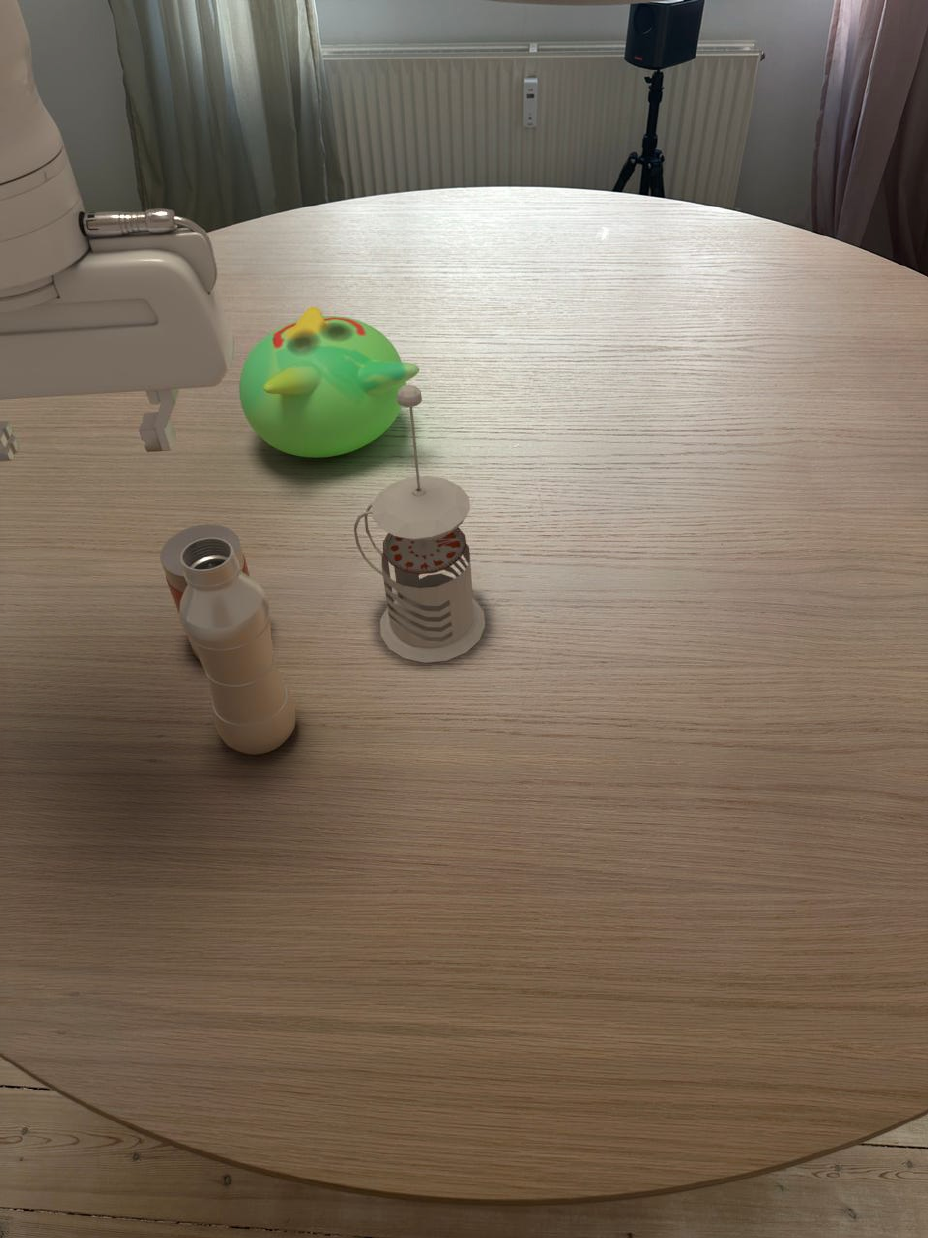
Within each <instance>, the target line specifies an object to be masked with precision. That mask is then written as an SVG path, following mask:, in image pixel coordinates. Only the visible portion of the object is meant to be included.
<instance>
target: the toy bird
mask: <svg viewBox="0 0 928 1238" xmlns="http://www.w3.org/2000/svg"><path fill="white" fill-rule="evenodd" d="M419 372H420V367H419V366H418V365H417V364H415V363H411V362H405V361H403V360H402V358H401V356H400V354H399V352H398V351H397V349H396V347H395V346H394V344H393V343H392V341H390V340H389V339H388V337H387V336H386V335H385V334H384V333H382V332H381V331H379V330H378V329H376V328H375V327H373V326H372V325H369V324H368V323H366V322H364V321H361V320H358V319H356V318H355V319H354V318H351V317H346V316H339V315H323V314H322V311H321V310H320V308H319V307H317V306H310V307H308V308H307V309H306V310H305V311H304V312H303V313H302V315H301V316H300V317H299V319H297V320H295V321H292V322H289V323H287V324H285V325H283V326H280V327H279V328H277V329H275V330H273V331H272V332H270V333H269V334H268V335H266V336H265V337H264V338H262V339H261V340H259V342H258V343H257V344H256V345H255V346H254V347H253V349H252V350H251V351H250V352H249V354H248V356H247V357H246V359H245V361H244V364H243V366H242V368H241V373H240V376H239V385H238V392H239V393H238V394H239V400H240V405H241V409H242V411H243V415H244V416H245V418H246V421H247V422H248V424H249V425H250V428H252V429H253V431H254V433H256V435H257V436H259V438H260V439H262V440H263V441H264V442H266V443H267V444H268V445H269V446H271V447H273V448H274V449H276V450H279V451H281V452H283V453H286V454H288V455H292V456H297V457H302V458H315V459H317V458H331V457H336V456H342V455H344V454H348V453H351V452H354V451H356V450H360V449H361V448H363V447H365V446H366V445H369V444H370V443H372V442H374V441H375V440H377V439H378V438H379V437H380V436H382V435H383V434H384V433H386V431H388V430H389V428H390V427H391V426H392V425H393V424H394V422H395V420H397V418H398V416H399V414H400V412H401V411H402V407H403V406H401V405H399V404H398V402H397V393H398V390H399V389H400V388H401V387H403V386H405V385H407V382H408V381H410V380H411V379H413V378H414V377H416V376H417V375H418V374H419Z"/></svg>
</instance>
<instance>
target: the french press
mask: <svg viewBox="0 0 928 1238" xmlns="http://www.w3.org/2000/svg"><path fill="white" fill-rule="evenodd" d="M422 401H423V397H422V391H421V389H420V388H418V387H417V386H416V385H413V384H406V385H405V386H403V387H401V388H400V389H399V390H398V393H397V402H398V404H399V405H401V406H402V407H404V408H408V409H409V417H410V426H411V436H412V437H411V438H412V447H413V456H414V468H415V477H408V478H403V479H401V480H397V481H395V482H392V483H390V484H389V485H387V486H386V487H384V489H382V490H381V491H379V492H378V493H377V495H376V497H375V499H374V501H372V502H371V503H370V504H369V505H368V506H367V508H366V510H365V511H363V512H362V513H361V514H360V515H358V516H357V518H356V519H355V522H354V525H353V535H354V539H355V544H356V546H357V548H358V550H359V553H360V555H361V557H362V558H363V560H364V561H365V562H366V563H367V564H368V565H369V566H370V568H371V569H372V570H374V571H375V572H377V573H378V574H379V575H380V576H382V580H383V585H384V592H385V593H384V594H385V599H386V608H385V610H384V612H383V614H382V616H381V618H380V620H379V635H380V637H381V639H382V640H383V642H384V644H385V645H386V647H387V648H388V650H390V651H392V652H393V653H395V654H396V655H398V656H400V657H401V658H403V659H404V660H409V661H414V662H419V663H424V664H426V663H436V662H439V663H440V662H448V661H450V660H452V659H454V658H457V657H460V656H462V655H464V654H466V653H467V652H468V651H470V650H471V649H472V648H473V647H474V646H475V645H476V644H478V643H479V641H480V640H481V638H482V635H483V633H484V630H485V628H486V619H485V612H484V610H483V608H482V607H481V605H480V604H479V603H478V602H477V600H476V599H475V598H474V597H473V580H472V565H471V564H472V563H471V553H470V546H469V545H468V544H467V540H466V539H467V538H466V535H465V533H464V531H462V530H461V528H460V527H461V525H463V523H464V521H465V520H466V518H467V516H468V514H469V512H470V510H471V506H470V505H471V504H470V496H468V494H467V493H466V492H465V490H464V489H463V488H462V487H461V486H460V485H458V484H456V483H455V482H453V481H450V480H448V479H446V478H442V477H441V478H440V477H435V476H434V477H433V476H427V475H425V476H423V475H422V476H420V472H419V462H418V452H417V451H418V450H417V442H416V433H415V432H416V431H415V422H414V413H413V412H414V411H413V408H414V407H418V405H420V404H421V403H422ZM369 515H371V518H372V519H373V520H374V523H376V525H377V526H378V528H379V529H381V530H383V531H384V532H386V533H387V534H386V536H385V538H384V539H383V541H382V551H381V549H379V547H377V545H376V543H375V541H374V539H373V537H372V535H371V532H370V530H369V521H368V516H369ZM363 517H364V526H365V533H366V534H367V536H368V539H369V540H370V542H371V544H372V546H373V548H374V550H376V552H377V553H378V554H379V555H380V557H381V558H380V559H381V562H380V563H381V565H380V566H381V570H380V569H379V568H378V567H377V566H375V564H373V563H372V562H371V560H369V558H368V557H367V556H366V555H365V553H364V551H363V550H362V546H361V544H360V540H359V536H358V531H357V530H358V525H359V523H360V521H361V519H362V518H363ZM462 556H463V558H464V559H463V558H462ZM458 561H459V562H460V563H461V564H462V566H463V567H464V568H462V566H461V565H460V564H459V563H458ZM465 561H466V562H465ZM466 563H467V564H466ZM390 565H391V566H393V568H394V575H395V580H394V579H392V578H391V572H390ZM452 566H454V567H455V568H456V569H457V570H458V571H459V572H460V574H459V573H458V572H457V571H456V569H455V568H453V567H452ZM441 571H446V572H449V573H451V574H453V575H454V576H455V577H452V576H450V575H447V574H444V573H438V572H441ZM420 575H425V576H423V577H421V578H420ZM393 590H394V591H396V592H397V595H396V594H395V593H394V592H393Z"/></svg>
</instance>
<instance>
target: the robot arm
mask: <svg viewBox="0 0 928 1238" xmlns="http://www.w3.org/2000/svg"><path fill="white" fill-rule="evenodd" d="M29 36H30V35H29V32H28V29H27V25H26V22H25V20H24V16H23V12H22V10H21V7H20V4H19V2H18V0H0V401H7V400H22V399H23V400H24V399H37V398H39V399H40V398H52V397H53V398H54V397H69V396H70V397H71V396H83V395H84V396H85V395H87V396H88V395H101V394H102V395H103V394H118V393H120V394H121V393H133V392H134V393H135V392H145V393H146V396H147V399H148V402H149V404H150V405H159V404H160V405H159V408H158V411H152V412H144V415H143V417H142V421H143V422H141V424H140V426H139V429H138V432H139V434H140V437H141V440H142V441H143V442H144V448H145V451H146V453H157V452H172V451H174V448H175V444H176V441H177V432H176V429H175V425H174V423H173V418H172V412H173V410H174V407H175V404H176V401H177V398H178V394H179V391H180V390H183V389H199V388H212V387H216V386H218V385H220V384H221V382H222V381H223V379H224V378H225V376H227V373H228V371H229V370H230V367H231V365H232V363H233V358H234V351H235V339H234V335H233V331H232V328H231V324H230V321H229V317H228V315H227V312H226V309H225V306H224V304H223V301H222V297H221V296H220V293H219V291H218V288H217V286H216V284H217V282H218V276H219V273H218V272H219V271H218V270H219V269H218V265H217V261H216V257H215V253H214V248H213V245H212V242H211V239H210V237H209V235H208V234H207V232H206V231H205V229H203V228H202V227H201V226H200V225H198V224H197V223H196V222H194V221H193V220H191V219H189V218H186V217H183V216H178V215H176V213H175V211H174V210H173V209H168V208H149V209H146V210H145V211H117V210H116V211H113V210H112V211H96V212H95V211H94V212H93V211H92V212H87V210H86V207H85V204H84V201H83V198H82V195H81V192H80V189H79V187H78V184H77V181H76V177H75V175H74V171H73V168H72V165H71V161H70V159H69V156H68V153H67V149H66V147H65V143H64V141H63V140H64V139H63V137H62V134H61V132H60V129H59V127H58V126H57V124H56V122H55V121H54V119H53V117H52V115H51V114H50V113H49V111H48V110H47V108H46V106H45V105H44V103H43V100H42V98H41V96H40V94H39V91H38V87H37V85H36V81H35V76H34V70H33V69H34V68H33V61H32V60H33V58H32V44H31V39H30V37H29ZM178 226H180V227H181V228H178ZM13 432H14V429H13V427H12V424H11V423H10V421H0V462H10V461H14V460H15V458H16V456H15V455H16V454H17V453H18V451H19V445H20V444H19V441H18V438H17V436H15V435H14V434H13Z"/></svg>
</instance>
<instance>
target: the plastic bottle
mask: <svg viewBox="0 0 928 1238" xmlns="http://www.w3.org/2000/svg"><path fill="white" fill-rule="evenodd" d="M180 559H181V564H182V567H183V570H184V577H185V580H186V582H187V584H188V585H187V587H186V589H185V591H184V593H183V595H182V598H181V601H180V610H179V613H178V618H179V623H180V624H181V627H182V629H183V631H184V633H185V636H186V637H187V636H188V637H187V639H188V638H189V639H188V641H189V640H190V641H189V643H190V642H191V643H192V645H193V647H194V649H195V650H196V652H197V654H198V656H199V658H200V659H199V661H200V664H201V665H202V668H203V670H204V672H205V676H206V677H207V680H208V685H209V691H210V695H211V701H212V704H211V705H212V707H211V709H212V717H213V723H214V728H215V729H216V731H217V733H218V734H219V736H220V739H222V741H223V742H224V744H226V745H227V746H228V747H229V748H231V749H232V750H234V751H237V752H239V753H242V754H247V755H262V754H267V753H270V752H272V751H275V750H276V749H278V748H279V747H281V746H282V745H283V744H284V743H285V742H286V741H287V740H288V739H289V737H290V736H291V735H292V733H293V731H294V730H295V726H296V704H295V701H294V699H293V696H292V694H291V692H290V689H289V688H288V686H287V685H286V683H285V682H284V680H283V678H282V677H283V676H282V675H281V672H280V669H279V667H278V664H277V661H276V658H275V652H274V645H273V640H272V639H273V638H272V629H271V628H272V627H271V607H270V602H269V598H268V595H267V593H266V592H265V590H264V589H263V588H262V587H261V585H260V584H259V582H258V581H257V580H255V579H254V578H253V577H252V576H251V575H250V576H248V575H247V574H245V573H243V572H241V571H240V565H239V562H238V560H237V558H236V557H235V553H234V550H233V548H232V546H231V544H230V543H229V542H227V541H226V540H224V539H220V538H212V537H210V538H203V539H199V540H196V541H194V542H192V543H190V544H189V545H187V546H186V547H185V548H184V550H183V551H182V553H181V557H180Z"/></svg>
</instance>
